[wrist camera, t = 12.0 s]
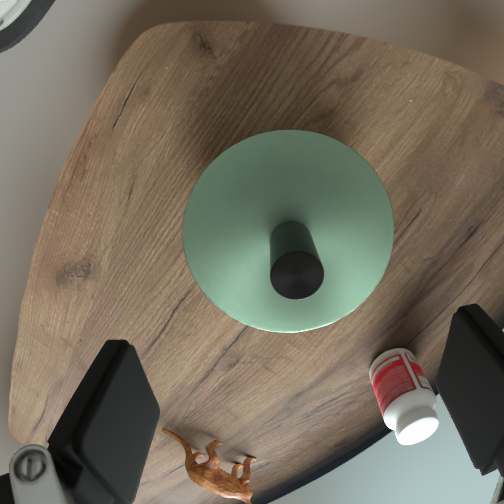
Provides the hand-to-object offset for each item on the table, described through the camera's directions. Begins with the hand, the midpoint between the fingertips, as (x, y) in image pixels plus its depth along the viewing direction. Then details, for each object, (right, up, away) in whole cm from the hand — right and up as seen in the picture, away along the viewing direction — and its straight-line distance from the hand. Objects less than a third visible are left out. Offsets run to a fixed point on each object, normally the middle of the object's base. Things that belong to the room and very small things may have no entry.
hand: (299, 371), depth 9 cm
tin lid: (+1, +4, +12) cm, 13 cm away
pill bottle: (+16, -11, +28) cm, 33 cm away
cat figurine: (-7, -27, +35) cm, 45 cm away
